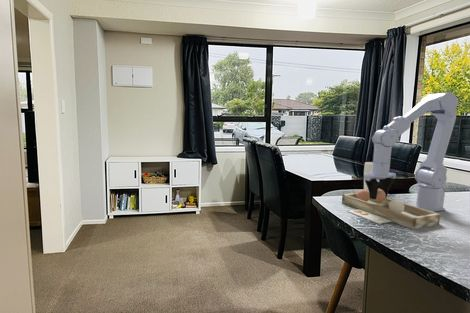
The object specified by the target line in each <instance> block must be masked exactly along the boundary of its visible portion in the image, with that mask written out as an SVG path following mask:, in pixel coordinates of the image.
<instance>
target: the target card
mask: <svg viewBox="0 0 470 313" xmlns="http://www.w3.org/2000/svg"><path fill="white" fill-rule="evenodd" d="M347 212H348V213H350V214H352V215H355V216H357V217H360V218H363V219H365V220H368V221H369V222H373V223H376V224H378V225H383V224H386V223H391V222H392V221H391V220H388V219H385V218H382V217H380V216H377V215H374V214H371V213H369V212H366V211H363V210H360V209H357V208H355V209H351V210H347ZM392 223H393V222H392Z"/></svg>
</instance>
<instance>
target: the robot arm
mask: <svg viewBox="0 0 470 313" xmlns="http://www.w3.org/2000/svg"><path fill="white" fill-rule="evenodd" d="M458 104H459V99H458V98H457V96H456V94H455V93H453V92H451V91H449V92H437V93H427V94H426V95H425V96H424V97H422V98H420V101H419V102H418V103H417V104H416V105H415V106H414V107H412V108H411V109H410V110H409V111H408V112H407V113H406V114H404V115H403V116H402V115H401V116H400V115H399V116H395V117H393V118H392V119H393V120H392V121H390V122H389V123H388V124H387V125H384V126H383V128H382V129H377V130H376V131H375V132H374V134H373V136H371V140H372V143H373V148H374V149H373V150H374V151H373V161H372V162H373V170H372V172H370V174H366V175H364V174H363V181H364V180H365V182H366V184H367V187H368V190H369V195H370V198H371V199H374V200H375V199H376V197H377V191H378V189H382V190H383V191H384V192H385V194H386V197H385V198H387V196H388V194H389V192H390V189H391V187H392V186H393V185H394V184H395V181H396V180H395V179H396V177H397V174H396V173H395V172H390V169H391V168H390V167H391V156H392V150H393V149H392V146H393V145H395V144H396V143H397V140H398V138H399V137H400V136H401V135H403V134H404V133H405V132H406V131H408V130H409V129H410V127H411V123H413V122H414V121H416V120H417V119H419V118H420V117H421V116H423V115H424V114H426V113H428V112H429V113H431V114H432V115H433V116H434V117H435V118H436V119H437V122H436V124H435V129H434V131H433V136H432V138H431V142H430V145H429V149H428V152H427V153H428V154H427V155H426V159H425V160H424V161H422V162H421V163H419V166H418V168H417V169H416V171H415V172H414V179H415V181H416V183H417V185H418V186H417V192H416V193H417V195H416V202H415V203H416V204H411V205H412V206H415V207H418V208H422V209H425V210H429V211H432V212H435V213H436V212H440V211H445V210H446V208H444V203H445V196H446V195H445V194H446V193H445V190H444V188H443V186H444V185H445V184H446V182H447V171H448V169H447V167H446V166H445V165H444V163H443V162H444V159H445V157H446V153H447V150H448V145H449V143H450V140H451V137H452V133H453V129H454V126H455V123H456V120H457V109H458ZM378 179H379V182H377V181H376V180H378Z"/></svg>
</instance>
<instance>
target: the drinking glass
mask: <svg viewBox="0 0 470 313" xmlns="http://www.w3.org/2000/svg"><path fill="white" fill-rule="evenodd" d="M363 168H364V169H363V176H364V175H366V174H370V172H372V170H373V161H366V162H364V166H363ZM376 181H377V182H379V179H378V180H376ZM363 190H367V191H368V192H369V190H368V187H367V184H366V182H365V180H364V179H363Z"/></svg>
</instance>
